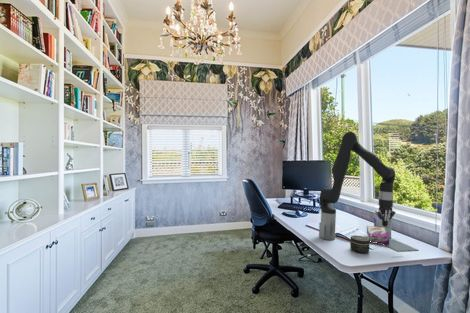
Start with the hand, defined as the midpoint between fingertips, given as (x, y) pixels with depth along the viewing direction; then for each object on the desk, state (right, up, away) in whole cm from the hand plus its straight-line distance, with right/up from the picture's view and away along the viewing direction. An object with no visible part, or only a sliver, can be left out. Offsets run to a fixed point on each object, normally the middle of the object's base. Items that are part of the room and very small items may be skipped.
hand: (384, 226), depth 146 cm
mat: (+7, -13, +1) cm, 15 cm away
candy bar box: (-3, -10, +1) cm, 10 cm away
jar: (-21, -12, -10) cm, 26 cm away
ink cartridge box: (+10, -13, +18) cm, 24 cm away
